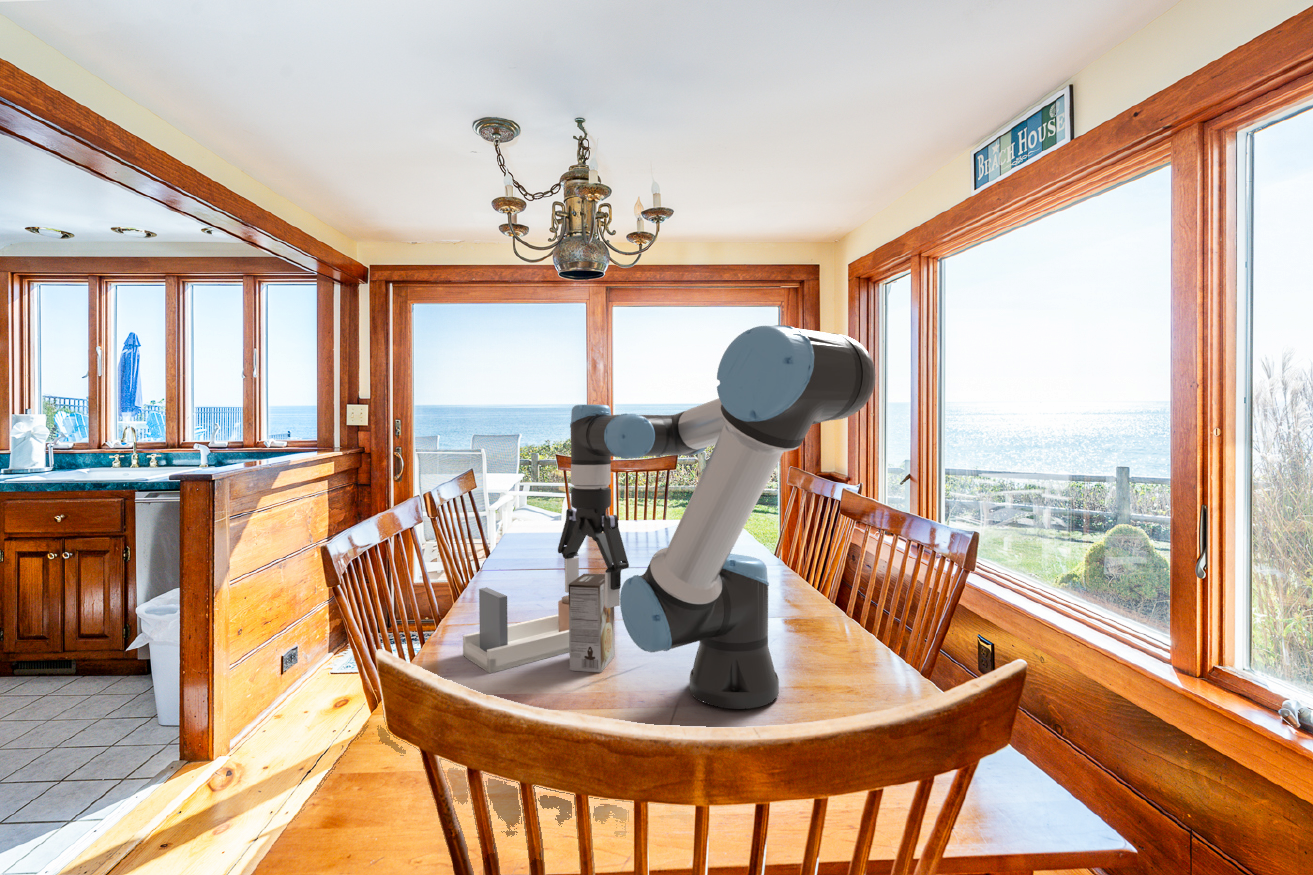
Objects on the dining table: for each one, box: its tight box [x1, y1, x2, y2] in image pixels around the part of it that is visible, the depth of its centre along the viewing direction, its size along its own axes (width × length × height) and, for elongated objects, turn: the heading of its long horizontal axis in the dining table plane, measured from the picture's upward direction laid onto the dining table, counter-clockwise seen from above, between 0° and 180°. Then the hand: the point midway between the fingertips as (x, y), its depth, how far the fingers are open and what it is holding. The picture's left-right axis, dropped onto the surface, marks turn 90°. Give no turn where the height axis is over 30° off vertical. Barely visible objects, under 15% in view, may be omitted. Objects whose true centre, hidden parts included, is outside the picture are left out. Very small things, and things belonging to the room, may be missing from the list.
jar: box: [557, 594, 569, 632], centre depth 132 cm, size 6×6×8 cm
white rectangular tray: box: [462, 613, 569, 674], centre depth 127 cm, size 12×26×6 cm, turn 130°
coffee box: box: [568, 573, 616, 673], centre depth 119 cm, size 9×6×16 cm
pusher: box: [478, 587, 508, 652], centre depth 121 cm, size 9×2×12 cm, turn 40°
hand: (591, 598), depth 119 cm, fingers open, 13 cm apart
